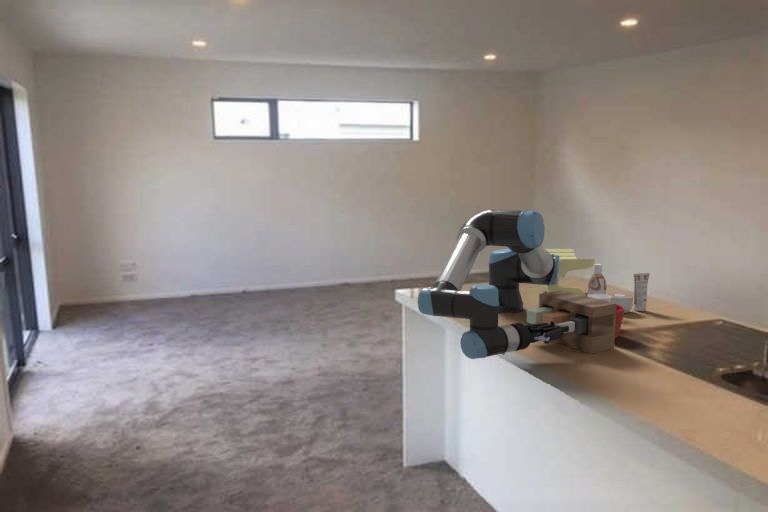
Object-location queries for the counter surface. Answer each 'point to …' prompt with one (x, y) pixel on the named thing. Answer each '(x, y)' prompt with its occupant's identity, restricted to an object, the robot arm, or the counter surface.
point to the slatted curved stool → (568, 269)
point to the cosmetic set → (626, 300)
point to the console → (598, 321)
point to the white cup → (600, 297)
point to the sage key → (538, 314)
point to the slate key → (580, 324)
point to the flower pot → (618, 319)
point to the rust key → (557, 317)
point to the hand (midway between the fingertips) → (572, 326)
